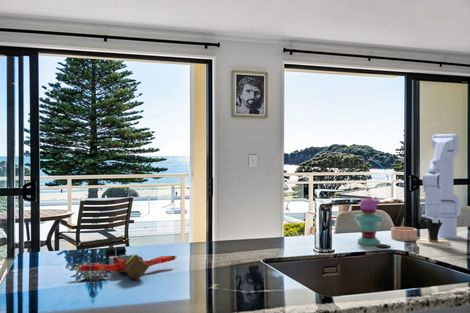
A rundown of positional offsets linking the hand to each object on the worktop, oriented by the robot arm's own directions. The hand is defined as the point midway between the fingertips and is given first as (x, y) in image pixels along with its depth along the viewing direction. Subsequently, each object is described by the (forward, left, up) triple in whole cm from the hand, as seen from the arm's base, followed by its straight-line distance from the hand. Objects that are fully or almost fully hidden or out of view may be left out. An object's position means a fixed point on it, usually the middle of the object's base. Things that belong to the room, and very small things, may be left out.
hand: (433, 239), depth 176 cm
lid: (0, 0, -2) cm, 2 cm away
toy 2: (+3, -24, -3) cm, 24 cm away
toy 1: (+67, -95, -3) cm, 116 cm away
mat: (0, 0, -2) cm, 2 cm away
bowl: (-10, -10, -2) cm, 14 cm away
